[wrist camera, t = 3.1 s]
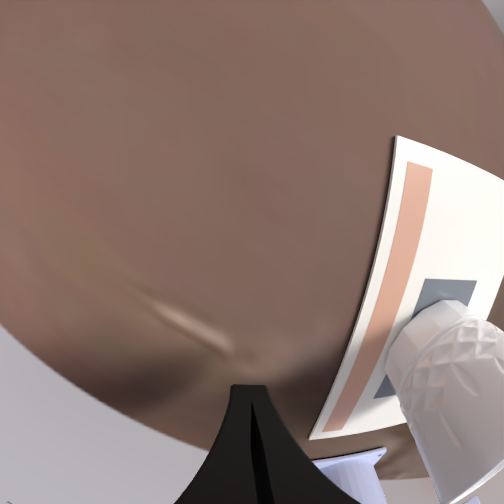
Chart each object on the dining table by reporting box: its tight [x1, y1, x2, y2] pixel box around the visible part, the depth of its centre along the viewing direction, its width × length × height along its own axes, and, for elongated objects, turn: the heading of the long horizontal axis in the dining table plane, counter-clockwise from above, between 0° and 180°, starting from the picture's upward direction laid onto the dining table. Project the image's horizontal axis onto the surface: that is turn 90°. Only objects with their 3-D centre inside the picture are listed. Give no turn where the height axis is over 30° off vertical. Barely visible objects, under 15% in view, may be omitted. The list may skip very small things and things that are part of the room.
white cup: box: [384, 300, 504, 504], centre depth 9 cm, size 8×8×10 cm
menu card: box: [309, 136, 504, 440], centre depth 14 cm, size 20×12×1 cm, turn 174°
